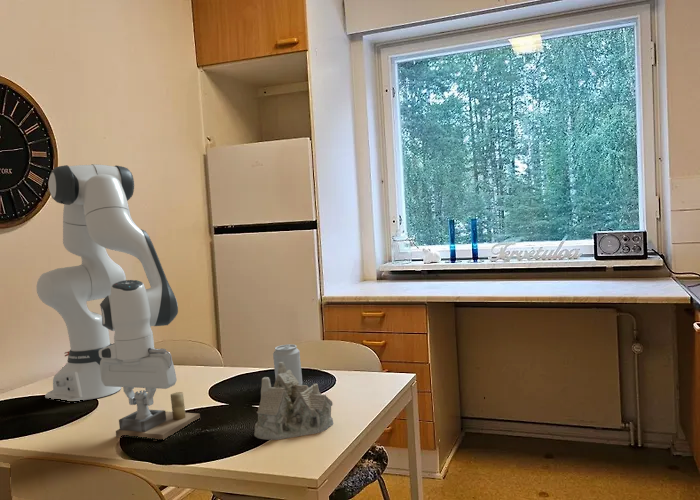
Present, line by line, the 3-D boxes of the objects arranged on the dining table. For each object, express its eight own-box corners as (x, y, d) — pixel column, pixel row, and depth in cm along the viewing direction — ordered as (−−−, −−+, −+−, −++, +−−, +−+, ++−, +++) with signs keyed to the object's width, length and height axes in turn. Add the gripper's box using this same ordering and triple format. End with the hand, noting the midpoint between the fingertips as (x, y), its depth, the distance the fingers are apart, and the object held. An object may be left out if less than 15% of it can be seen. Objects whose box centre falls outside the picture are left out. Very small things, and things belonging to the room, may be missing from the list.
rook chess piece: (137, 422, 152) (133, 390, 152) (156, 419, 153) (151, 388, 152) (133, 428, 148) (128, 395, 147) (152, 425, 148) (147, 393, 148)
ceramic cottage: (244, 434, 142) (242, 370, 141) (293, 414, 155) (291, 355, 154) (294, 450, 133) (293, 382, 131) (342, 427, 145) (341, 364, 144)
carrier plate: (116, 437, 148) (112, 406, 147) (155, 416, 161) (152, 388, 160) (163, 441, 143) (160, 409, 142) (200, 419, 155) (197, 390, 155)
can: (271, 391, 174) (267, 349, 173) (284, 383, 181) (280, 343, 180) (295, 392, 171) (291, 349, 170) (307, 384, 178) (303, 343, 177)
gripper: (178, 345, 148) (184, 402, 149) (112, 344, 156) (118, 398, 157) (161, 352, 142) (167, 411, 143) (93, 351, 150) (99, 407, 151)
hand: (141, 404), depth 150 cm, fingers closed on rook chess piece, 3 cm apart
